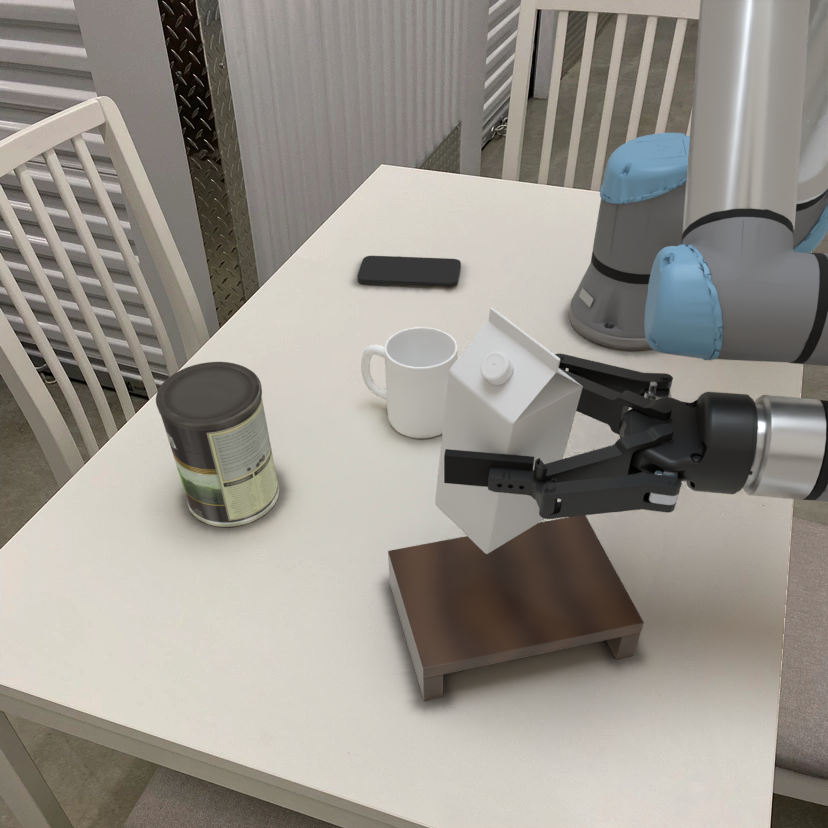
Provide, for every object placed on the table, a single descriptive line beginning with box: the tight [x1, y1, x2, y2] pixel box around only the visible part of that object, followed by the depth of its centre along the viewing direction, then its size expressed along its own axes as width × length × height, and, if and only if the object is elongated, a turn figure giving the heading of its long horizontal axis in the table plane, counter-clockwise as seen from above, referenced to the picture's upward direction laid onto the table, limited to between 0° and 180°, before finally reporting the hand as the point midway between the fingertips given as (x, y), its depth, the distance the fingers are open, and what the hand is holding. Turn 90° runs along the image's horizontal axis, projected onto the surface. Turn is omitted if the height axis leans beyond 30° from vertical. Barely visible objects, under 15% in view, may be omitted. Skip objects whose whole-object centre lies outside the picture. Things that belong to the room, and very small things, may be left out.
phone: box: [356, 255, 462, 288], centre depth 123 cm, size 7×1×15 cm
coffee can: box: [155, 361, 281, 528], centre depth 86 cm, size 10×10×14 cm
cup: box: [360, 326, 459, 439], centre depth 96 cm, size 8×12×10 cm
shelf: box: [387, 515, 645, 701], centre depth 77 cm, size 20×14×5 cm
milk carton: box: [434, 307, 583, 554], centre depth 65 cm, size 7×7×19 cm
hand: (453, 421), depth 64 cm, fingers closed on milk carton, 10 cm apart
